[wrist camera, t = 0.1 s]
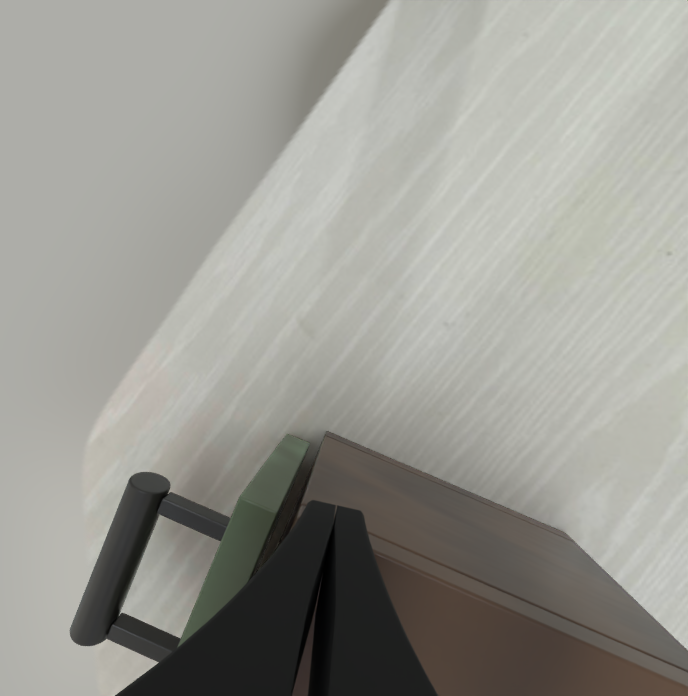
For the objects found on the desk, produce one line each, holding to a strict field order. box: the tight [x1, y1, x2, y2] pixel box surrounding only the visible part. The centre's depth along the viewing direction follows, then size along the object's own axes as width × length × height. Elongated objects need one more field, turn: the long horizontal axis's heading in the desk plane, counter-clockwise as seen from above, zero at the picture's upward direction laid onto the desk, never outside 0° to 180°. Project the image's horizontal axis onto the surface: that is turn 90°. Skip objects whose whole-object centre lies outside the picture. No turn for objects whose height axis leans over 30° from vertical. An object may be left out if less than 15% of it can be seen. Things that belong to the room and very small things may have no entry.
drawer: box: [70, 434, 310, 662], centre depth 14 cm, size 16×10×7 cm, turn 67°
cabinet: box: [278, 431, 688, 696], centre depth 14 cm, size 13×12×9 cm
